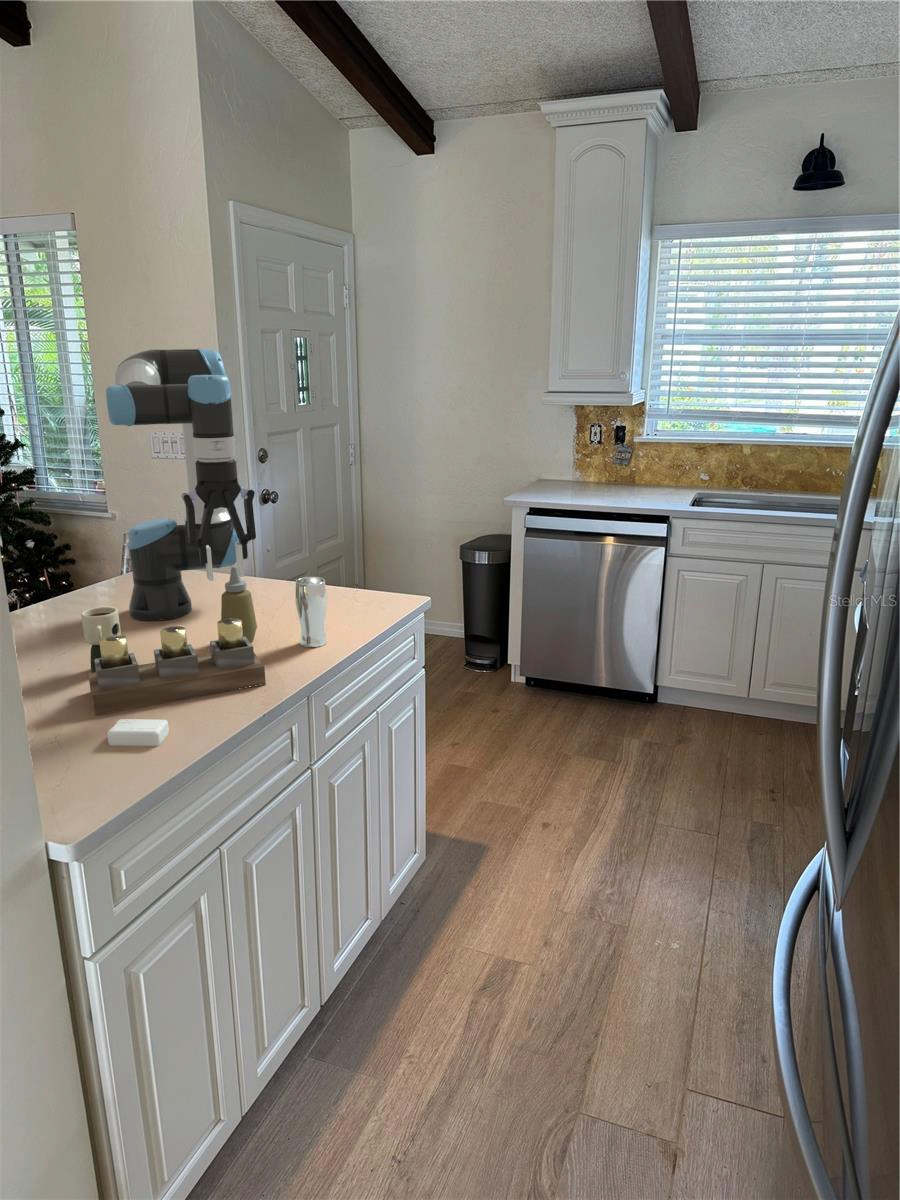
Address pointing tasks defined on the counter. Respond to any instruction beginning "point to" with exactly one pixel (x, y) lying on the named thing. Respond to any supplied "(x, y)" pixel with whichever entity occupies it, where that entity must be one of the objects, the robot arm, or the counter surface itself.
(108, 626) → the character mug
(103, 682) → the mount
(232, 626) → the knob
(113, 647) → the knob
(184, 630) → the knob middle
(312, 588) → the beer glass
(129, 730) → the soap
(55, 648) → the counter surface
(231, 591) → the squeeze bottle
